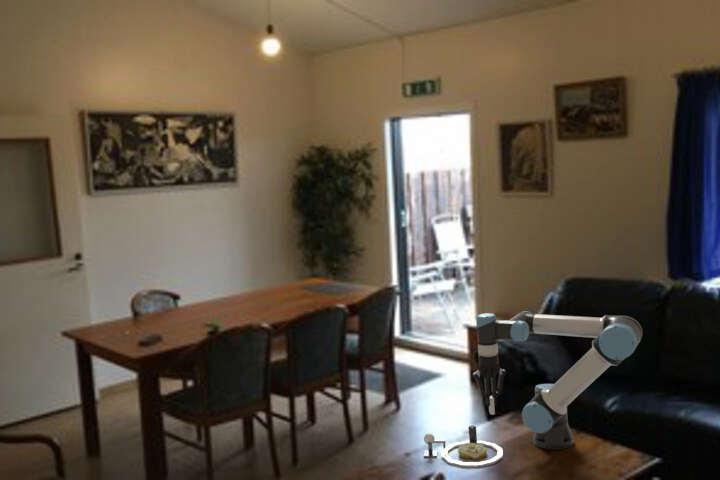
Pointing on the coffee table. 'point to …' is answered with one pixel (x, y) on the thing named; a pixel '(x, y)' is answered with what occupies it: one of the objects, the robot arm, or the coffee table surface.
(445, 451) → the ring
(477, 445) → the decorated donut
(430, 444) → the dial indicator
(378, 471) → the coffee table surface
